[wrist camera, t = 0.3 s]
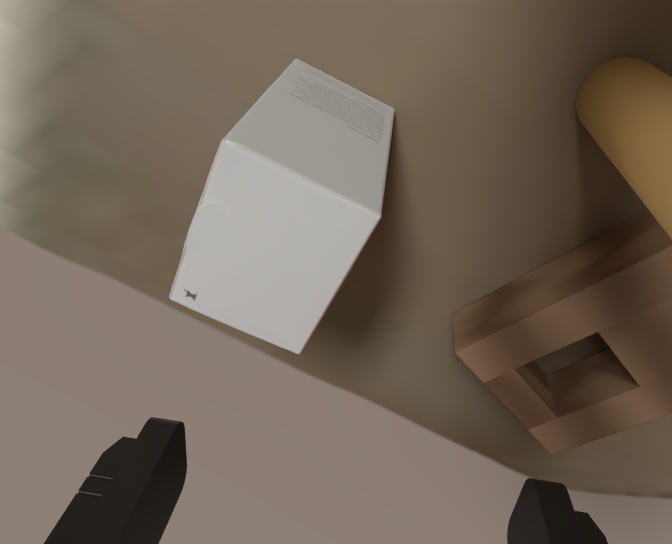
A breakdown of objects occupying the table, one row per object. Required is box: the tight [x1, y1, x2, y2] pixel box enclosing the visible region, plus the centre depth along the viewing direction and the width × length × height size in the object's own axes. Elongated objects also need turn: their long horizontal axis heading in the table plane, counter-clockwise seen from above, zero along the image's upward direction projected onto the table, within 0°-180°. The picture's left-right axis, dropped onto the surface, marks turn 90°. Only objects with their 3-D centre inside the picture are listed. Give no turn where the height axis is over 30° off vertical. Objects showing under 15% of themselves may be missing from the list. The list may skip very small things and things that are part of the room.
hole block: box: [452, 209, 672, 455], centre depth 32 cm, size 20×12×4 cm, turn 132°
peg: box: [576, 57, 672, 239], centre depth 21 cm, size 4×4×14 cm
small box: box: [169, 59, 395, 354], centre depth 25 cm, size 8×6×13 cm
